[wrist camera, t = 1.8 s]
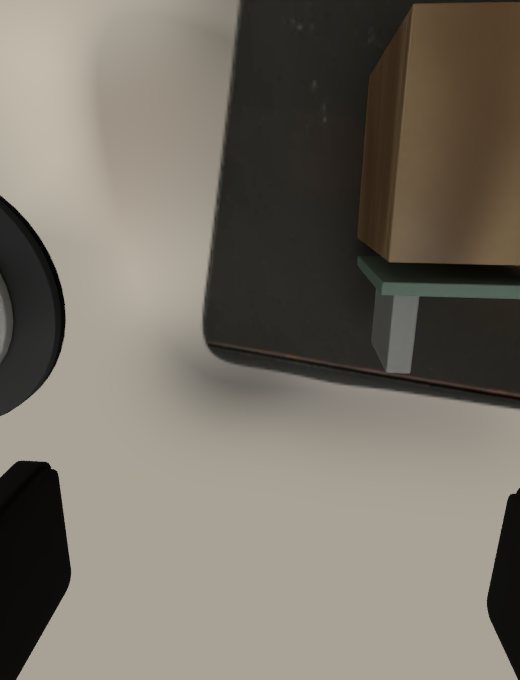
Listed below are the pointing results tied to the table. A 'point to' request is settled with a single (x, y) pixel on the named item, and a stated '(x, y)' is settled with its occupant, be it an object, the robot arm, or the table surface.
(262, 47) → the table surface
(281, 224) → the table surface
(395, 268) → the sliding door
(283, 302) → the table surface
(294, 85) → the table surface
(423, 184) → the cabinet
